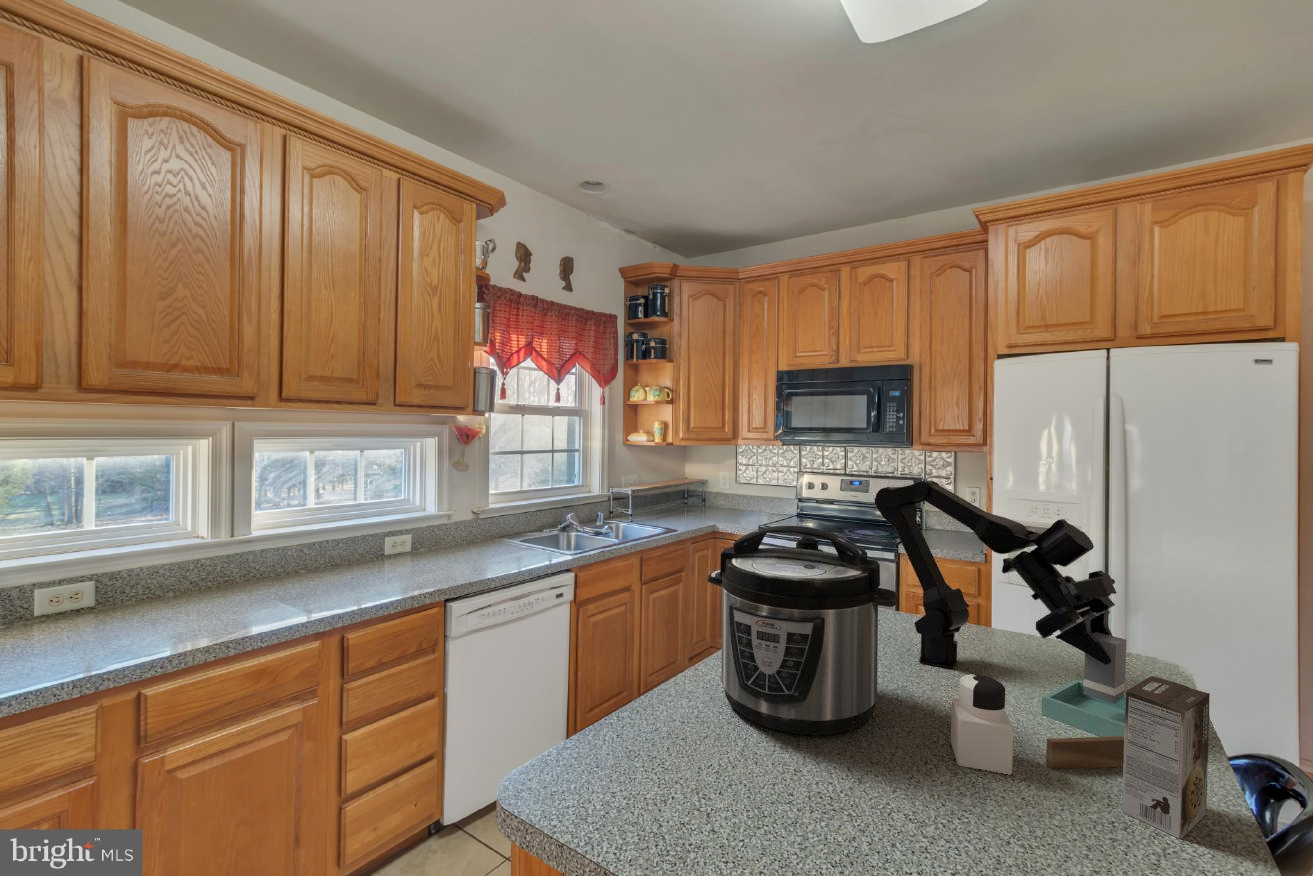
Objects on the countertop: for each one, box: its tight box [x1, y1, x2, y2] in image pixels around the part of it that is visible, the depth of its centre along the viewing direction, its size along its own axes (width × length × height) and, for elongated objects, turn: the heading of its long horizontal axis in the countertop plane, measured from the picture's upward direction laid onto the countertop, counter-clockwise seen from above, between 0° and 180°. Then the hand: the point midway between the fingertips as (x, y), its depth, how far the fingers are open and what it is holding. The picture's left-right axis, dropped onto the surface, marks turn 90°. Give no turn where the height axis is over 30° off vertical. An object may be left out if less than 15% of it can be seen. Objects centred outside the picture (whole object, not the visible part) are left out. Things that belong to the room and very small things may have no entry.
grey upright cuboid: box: [1082, 632, 1127, 704], centre depth 102 cm, size 4×4×10 cm
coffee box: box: [1121, 675, 1211, 840], centre depth 77 cm, size 9×6×16 cm
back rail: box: [1045, 736, 1124, 770], centre depth 88 cm, size 1×12×4 cm, turn 96°
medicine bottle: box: [950, 673, 1014, 776], centre depth 89 cm, size 7×7×12 cm
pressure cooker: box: [706, 525, 899, 736], centre depth 106 cm, size 30×28×32 cm
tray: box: [1041, 679, 1126, 737], centre depth 102 cm, size 14×14×3 cm
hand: (1114, 660), depth 101 cm, fingers closed on grey upright cuboid, 4 cm apart
